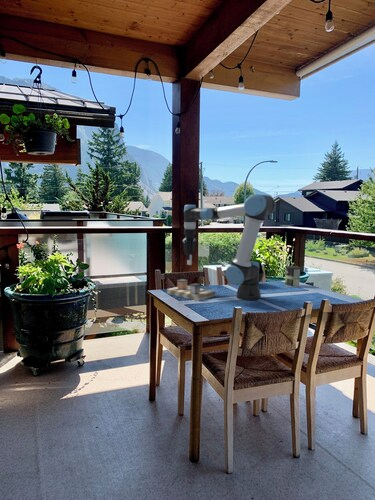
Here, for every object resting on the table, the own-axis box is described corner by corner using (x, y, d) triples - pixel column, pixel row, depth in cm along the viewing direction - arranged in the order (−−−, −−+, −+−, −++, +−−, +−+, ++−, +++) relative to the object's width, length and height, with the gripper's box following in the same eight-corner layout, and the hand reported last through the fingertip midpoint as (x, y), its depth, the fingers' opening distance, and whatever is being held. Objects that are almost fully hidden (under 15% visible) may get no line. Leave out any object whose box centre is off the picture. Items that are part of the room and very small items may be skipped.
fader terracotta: (187, 287, 237) (187, 280, 236) (182, 289, 233) (182, 281, 232) (182, 286, 240) (182, 279, 239) (176, 288, 236) (177, 280, 235)
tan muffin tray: (215, 296, 231) (215, 290, 230) (198, 300, 218) (198, 295, 217) (183, 289, 247) (184, 284, 247) (166, 293, 234) (166, 288, 234)
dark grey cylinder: (255, 289, 251) (256, 262, 249) (230, 285, 263) (231, 259, 261) (267, 285, 267) (269, 259, 265) (243, 281, 279) (244, 257, 277)
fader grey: (200, 292, 225) (200, 284, 224) (194, 294, 221) (195, 285, 220) (194, 291, 227) (194, 283, 227) (189, 292, 223) (189, 284, 223)
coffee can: (285, 286, 263) (286, 267, 262) (283, 283, 273) (284, 265, 272) (300, 287, 262) (301, 268, 260) (298, 284, 272) (299, 265, 270)
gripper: (191, 228, 244) (191, 263, 247) (178, 228, 234) (178, 265, 237) (200, 228, 239) (200, 264, 242) (187, 229, 229) (187, 266, 232)
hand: (189, 264), depth 239 cm, fingers closed
